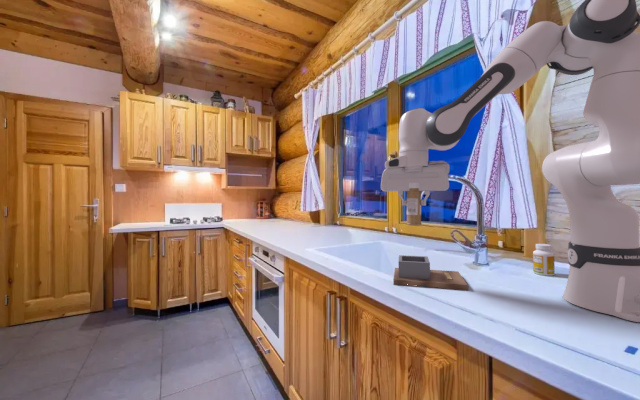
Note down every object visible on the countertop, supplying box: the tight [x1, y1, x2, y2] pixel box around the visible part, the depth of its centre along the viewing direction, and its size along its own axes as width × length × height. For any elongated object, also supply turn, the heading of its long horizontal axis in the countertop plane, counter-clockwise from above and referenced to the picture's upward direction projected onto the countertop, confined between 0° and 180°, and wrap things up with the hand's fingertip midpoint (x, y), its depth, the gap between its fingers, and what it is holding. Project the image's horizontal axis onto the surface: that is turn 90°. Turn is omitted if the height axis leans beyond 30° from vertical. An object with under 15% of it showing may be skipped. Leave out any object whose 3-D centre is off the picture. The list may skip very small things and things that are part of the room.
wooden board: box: [393, 267, 469, 291], centre depth 84 cm, size 20×14×2 cm
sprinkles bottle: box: [406, 183, 422, 227], centre depth 84 cm, size 5×5×14 cm
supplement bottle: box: [532, 243, 555, 277], centre depth 88 cm, size 5×5×10 cm
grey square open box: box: [398, 254, 431, 280], centre depth 85 cm, size 9×9×5 cm
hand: (413, 205), depth 84 cm, fingers closed on sprinkles bottle, 4 cm apart
